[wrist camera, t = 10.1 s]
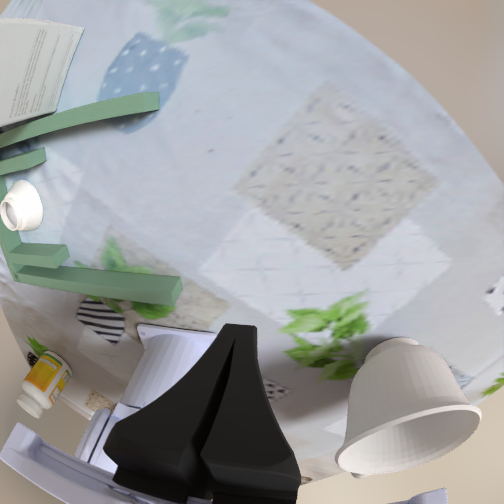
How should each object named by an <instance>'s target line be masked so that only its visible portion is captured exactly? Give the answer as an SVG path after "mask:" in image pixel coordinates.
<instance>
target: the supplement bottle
mask: <svg viewBox="0 0 504 504" xmlns="http://www.w3.org/2000/svg"><path fill="white" fill-rule="evenodd" d="M71 375H72V371H71V369H70V367H69V365H68V364H67V363H66V362H65V361H64V360H63V359H62V358H61V357H59V356H58V355H57V354H55V353H53V352H51V351H46V352H44V353H43V355H42V356H41V357H40V358H39V360H38V361H37V363H36V364H35V365H34V367H33V368H32V369H31V371H30V372H29V374H28V375H27V376H26V378H25V379H24V381H23V382H22V389H23V392H24V393H21V394H20V395H19V396H18V398H17V402H18V404H19V405H20V406H21V407H22V408H23V409H24V410H26V411H27V412H28V413H29V414H31V415H32V416H34V417H36V418H40V416H41V414H42V413H43V408H44V409H49V408H51V407H52V406H53V404H54V402H55V401H56V399H57V398H58V396H59V394H60V393H61V391H62V390H63V388H64V386H65V385H66V383H67V382H68V380H69V379H70V377H71Z"/></svg>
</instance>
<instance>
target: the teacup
mask: <svg viewBox="0 0 504 504" xmlns="http://www.w3.org/2000/svg"><path fill="white" fill-rule="evenodd" d="M481 416H482V414H481V411H480V409H478V408H477V407H475V406H472V405H470V404H469V403H468V402H467V400H466V398H465V397H464V395H463V393H462V392H461V390H460V388H459V386H458V384H457V382H456V380H455V378H454V376H453V374H452V372H451V371H450V369H449V367H448V366H447V364H446V362H445V361H444V360H443V358H442V357H441V356H440V355H439V354H438V353H437V352H435V351H434V350H432V349H430V348H428V347H425V346H422V345H419V344H418V343H417V342H416V341H415V340H413V339H411V338H406V337H398V338H392V339H389V340H386V341H384V342H382V343H380V344H378V345H377V346H375V347H374V348H373V349H372V350H371V351H370V352H369V353H368V354H367V356H366V358H365V362H364V365H363V366H362V367H361V368H360V369H359V370H358V372H357V373H356V375H355V377H354V379H353V381H352V384H351V388H350V393H349V400H348V415H347V428H346V434H345V441H344V444H343V446H342V447H341V448H340V449H339V450H338V451H337V453H336V455H335V461H336V463H337V464H338V466H340V467H341V468H343V469H344V470H346V471H349V472H351V474H352V475H353V477H355V478H358V479H362V478H366V477H368V476H370V475H371V474H384V473H392V472H397V471H402V470H406V469H410V468H413V467H417V466H420V465H422V464H425V463H428V462H430V461H432V460H435V459H437V458H439V457H441V456H443V455H445V454H447V453H448V452H450V451H452V450H454V449H455V448H457V447H458V446H459V445H461V444H462V443H463V442H464V441H466V440H467V439H468V438H469V437H470V436H471V435H472V434H473V433H474V431H475V430H476V428H477V427H478V425H479V423H480V420H481Z"/></svg>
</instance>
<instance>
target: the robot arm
mask: <svg viewBox="0 0 504 504" xmlns="http://www.w3.org/2000/svg"><path fill="white" fill-rule="evenodd" d="M137 330H138V333H139V336H140V339H141V341H142V344H143V347H144V350H145V352H144V354H143V355H142V357H141V359H140V361H139V363H138V365H137V367H136V369H135V371H134V373H133V375H132V377H131V379H130V381H129V383H128V385H127V387H126V389H125V391H124V393H123V395H122V397H121V399H120V401H119V402H118V403H117V405H116V407H115V409H114V411H113V413H112V414H110V413H111V410H110V409H108V408H104V409H100V410H97V411H96V412H95V414H94V415H93V417H92V419H91V421H90V423H89V424H88V426H87V428H86V431H85V432H84V435H83V437H82V439H81V441H80V443H79V446H78V448H77V451H76V453H75V456H72V455H70V454H68V453H66V452H64V451H62V450H60V449H58V448H56V447H54V446H52V445H51V444H49V443H47V442H45V441H43V440H42V438H41V437H40V436H39V435H37V434H36V433H35V432H34V431H32V430H31V429H29V428H27V427H26V426H24V425H23V424H21V423H19V422H18V423H17V424H16V426H15V428H14V429H13V431H12V433H11V435H10V436H9V438H8V440H7V442H6V444H5V445H4V447H3V449H2V451H1V453H0V459H1V460H2V461H4V462H5V463H6V464H8V465H9V466H10V467H12V468H13V469H14V470H16V471H17V472H18V473H20V474H21V475H22V476H24V477H25V478H27V479H28V480H30V481H31V482H33V483H34V484H36V485H37V486H38V487H40V488H42V489H43V490H45V491H46V492H48V493H49V494H51V495H53V496H54V497H56V498H58V499H60V500H61V501H63V502H65V503H67V504H296V500H297V493H298V488H299V486H300V484H301V474H300V470H299V467H298V464H297V461H296V458H295V455H294V452H293V450H292V449H291V447H290V445H289V444H288V442H287V440H286V438H285V436H284V435H283V433H282V431H281V429H280V427H279V424H278V422H277V420H276V418H275V415H274V413H273V411H272V408H271V406H270V403H269V400H268V398H267V395H266V392H265V388H264V385H263V382H262V378H261V374H260V369H259V364H258V359H257V328H256V327H255V326H251V325H239V324H227V323H226V324H225V325H224V326H223V328H222V329H221V331H220V332H219V334H218V335H216V334H214V333H208V332H199V331H190V330H182V329H175V328H167V327H160V326H153V325H147V324H139V325H138V326H137ZM212 499H213V500H212ZM211 500H212V501H211ZM389 504H448V498H447V490H446V488H441V489H437V490H434V491H430V492H425V493H422V494H418V495H416V496H414V497H412V498H411V499H410V500H406V501H401V502H395V503H389Z"/></svg>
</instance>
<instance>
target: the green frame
mask: <svg viewBox="0 0 504 504" xmlns="http://www.w3.org/2000/svg"><path fill="white" fill-rule="evenodd" d="M159 109H160V106H159V92H146V93H138V94H133V95H128V96H123V97H118V98H113V99H109V100H105V101H100V102H96V103H92V104H88V105H84V106H81V107H77V108H74V109H70V110H67V111H63V112H60V113H57V114H54V115H51V116H47V117H44V118H41V119H39V120H36V121H33V122H30V123H27V124H25V125H22V126H19V127H17V128H14V129H12V130H9V131H7V132H4V133H2V134H0V148H2V147H5V146H7V145H10V144H13V143H16V142H19V141H22V140H25V139H28V138H31V137H35V136H38V135H41V134H45V133H48V132H52V131H55V130H59V129H63V128H67V127H71V126H75V125H79V124H83V123H87V122H92V121H97V120H101V119H106V118H111V117H117V116H122V115H128V114H134V113H140V112H147V111H153V110H159ZM45 161H46V156H45V149H44V148H40V149H36V150H32V151H28V152H25V153H21V154H18V155H14V156H11V157H8V158H4V159H0V205H1V202H2V201H3V200H4V198H5V196H6V194H7V189H6V185H5V180H4V175H3V174H7V173H11V172H15V171H19V170H24V169H29V168H31V167H33V166H35V165H38V164H40V163H42V162H45ZM0 245H1V248H2V251H3V254H4V256H5V259H6V262H7V264H8V267H9V269H10V272H11V274H12V277H13V279H14V281H15V282H20V283H25V284H30V285H35V286H41V287H46V288H51V289H57V290H63V291H68V292H74V293H80V294H87V295H93V296H100V297H106V298H113V299H120V300H128V301H135V302H143V303H151V304H159V305H168V306H174V304H175V303H176V301H177V299H178V297H179V295H180V293H181V291H182V284H181V278H180V277H173V276H161V275H149V274H137V273H126V272H115V271H105V270H94V269H84V268H75V267H65V266H60V265H61V264H62V263H63V262H64V261H65V260H66V259H67V258H68V257H70V256H69V253H68V249H67V246H66V245H56V244H36V243H21V240H20V237H19V233H18V230H15V231H12V230H10V229H8V228H7V227H6V225H5V224H4V222H3V220H2V218H1V214H0Z"/></svg>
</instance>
